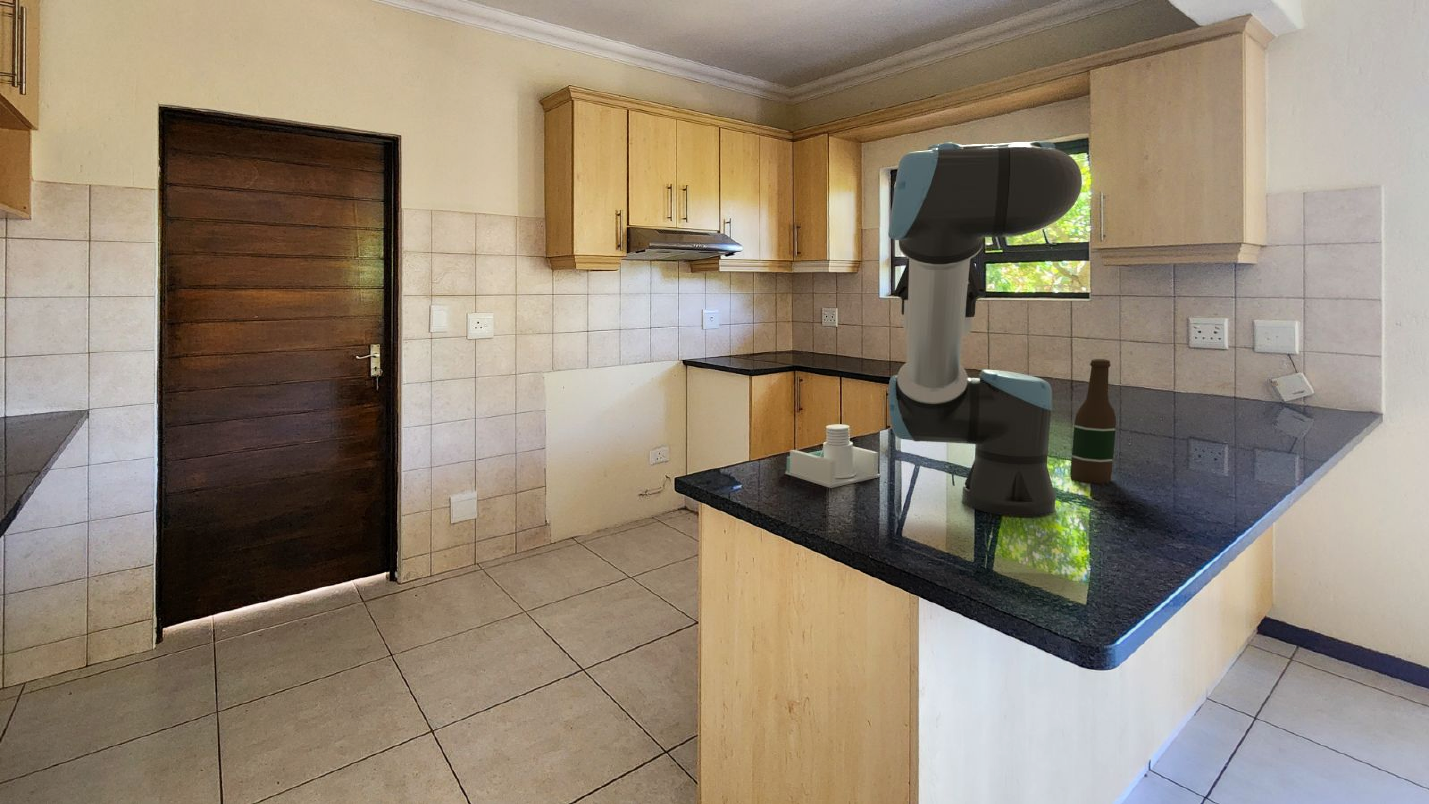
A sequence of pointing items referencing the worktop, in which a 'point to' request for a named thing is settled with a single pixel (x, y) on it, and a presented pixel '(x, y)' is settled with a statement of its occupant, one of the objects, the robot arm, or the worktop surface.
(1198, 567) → the worktop surface
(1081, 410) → the beer bottle
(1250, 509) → the worktop surface
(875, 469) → the holder
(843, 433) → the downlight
